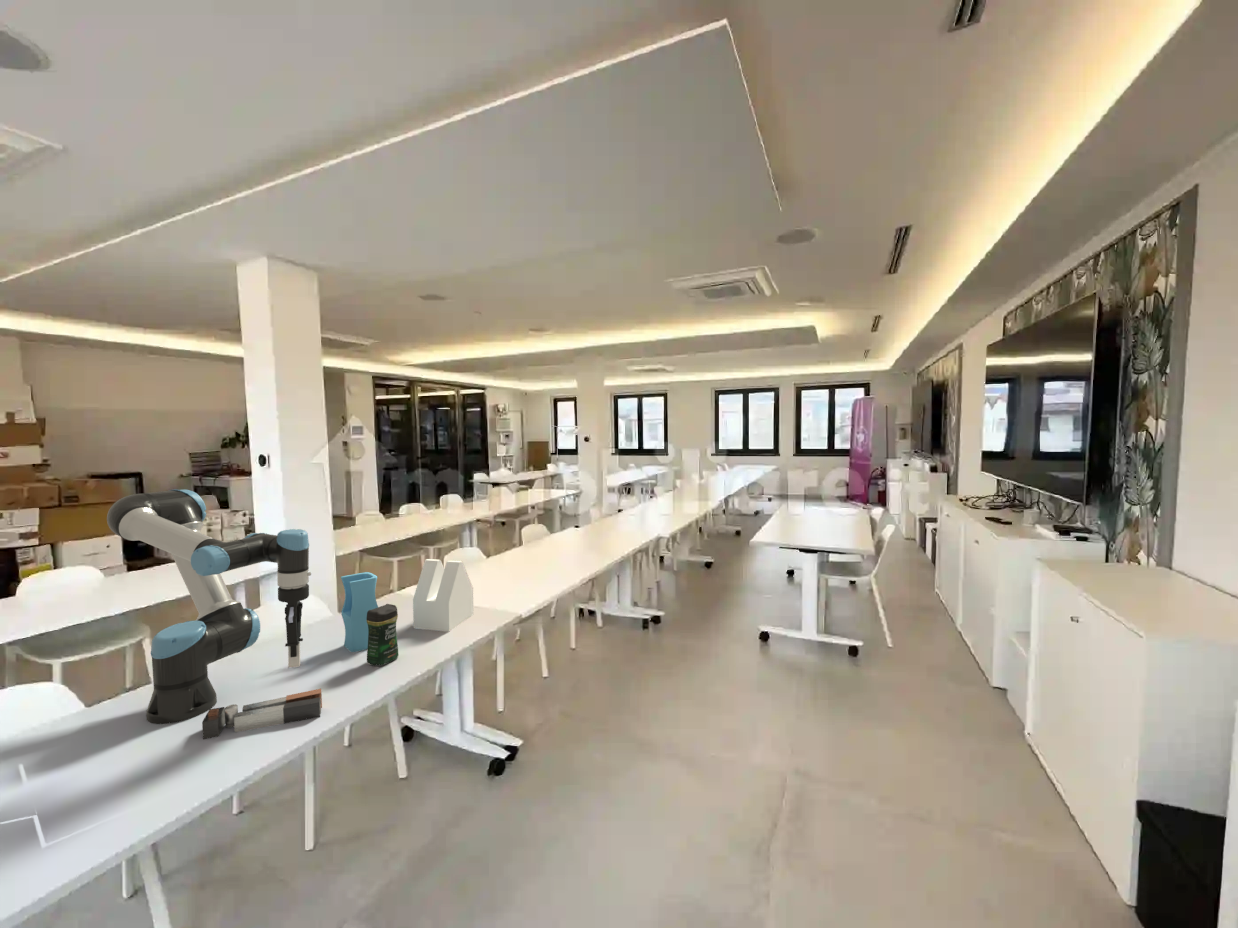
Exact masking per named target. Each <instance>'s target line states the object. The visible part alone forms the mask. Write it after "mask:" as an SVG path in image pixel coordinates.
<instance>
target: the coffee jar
mask: <svg viewBox="0 0 1238 928" xmlns="http://www.w3.org/2000/svg"><path fill="white" fill-rule="evenodd" d="M398 617H399V614H398V607H397V605H395V604H392V603H391V604H390V603H386V604H383V605H381V606H378V608H375V609H372V610H369V611H368V612H367V620H366V621H367V624H368V649H366V650H367V651H366V663H367V664H368V665H371V666H384V665H387V664H389V663H391V662H393V661H394V660H397V659H398V657H399V646H398V633H397V621H398Z"/></svg>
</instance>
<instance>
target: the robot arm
mask: <svg viewBox="0 0 1238 928" xmlns="http://www.w3.org/2000/svg"><path fill="white" fill-rule="evenodd" d="M206 511H207V506H206V504H205V501H204V499H202V497H201V496H200V495H199V494H198V493H197V492H195V491H193V490H189V489H169V490H163V491H154V492H144V493H134V494H130V495H126V496H124V497H122V498H120V499H118V500H116V501H115V502H114V503H113V504H112V505H111V506H110V508H109V509H108V512H107V516H106V522H107V526H108V528H109V529H110V530H111V532H113V533H114V534H115V535H117V536H118V537H120V538H122V539H124V540H127V541H132V542H135V541H140V542H143V543H145V544H148V545H150V546H152V547H155V548H157V549H159V550H161V551H164V552H166V553H169V554H170V555H171V556H172V559H173V560H174V562H175V565H176V567H177V569H178V571H179V574H180V576H181V577H182V580H183V582H184V585H185V586H186V589H187V591H188V593H189V595H190V598H191V600H192V601H193V604H194V606H195V608H196V610H197V612H198V615H197V618H196V619H195V620H187V621H184V622H178V623H175V624H172V625H169V626H168V627H166V628H163V629H162V630H160V631H159V632H157V633H156V634H155V635H154V636H153V638H152V639H151V648H150V649H151V650H150V656H151V667H152V679H153V681H152V682H153V690H152V691H153V692H152V694H151V697H150V700H149V703H148V706H147V708H146V711H145V712H146V713H145V714H146V721H147V723H151V724H153V725H166V724H167V725H168V724H176V723H179V722H183V721H188V720H190V719H193V718H196V717H198V716H201V715H203V714H204V713H208V711H209V710H210V709H213V707H214V708H215V706H216V704H217V701H218V699H217V698H218V697H217V696H218V695H217V693H216V690H215V689H214V686H213V684H212V682H211V680H210V678H209V676H208V675H209V674H208V673H209V672H208V665H209V664H211V663H214V662H217V661H220V660H222V659H224V658H227V657H229V656H231V655H234V654H237V653H238V654H239V653H241V652H242V651H244V650H246V649H247V648H250V647H251V646H253V645H254V644H255V643H256V642H257V640H258V639H259V636H260V633H261V621H260V617H259V616H258V613H257V612H256V611H254V610H253V609H252V608H248V607H247V608H244V607H243V604H242V603H241V601H238V600H235V599H233V598H232V595H231V593H230V592H229V589H228V588H227V585H226V583H225V581H224V579H223V577H222V575H221V574H222V573H225V572H230V571H233V570H237V569H240V568H244V567H248V566H252V565H256V564H261V563H265V562H269V563H274V564H277V575H276V576H277V579H276V581H277V586H278V587H277V600H278V601H279V602H282V603H286V605H285V607H284V614H285V617H284V620H285V628H286V629H285V631H286V643H285V645H284V647H287V650H288V657H287V658H288V660H287V661H288V662H287V663H288V665H287V666H288V668H290V669H291V668H297V667H300V666H301V642H303V640H304V638H303V637H302V638H301V636H302V630H301V629H302V615H303V611H302V610H303V602H302V601H304V600H306V599H308V598H309V596H310V585H309V581H310V580H309V579H310V578H309V576H312V573H311V571H310V572H309V568H310V567H309V565H310V564H309V563H310V559H309V558H310V557H309V554H310V553H309V552H310V550H309V548H310V541H309V535H308V534H309V533H308V532H307V531H306V530H305V529H301V528H299V529H296V528H293V529H291V528H290V529H285V530H284V529H283V530H281V531H279V532H278V533H277V534H269V533H265V532H253V533H252V532H251V533H249V534H248V535H246V536H245V537H243V538H241V539H236V540H235V539H234V540H230V541H222V540H220V539H217V538H214V537H211V536H210V535H206V534H204V533H202V532H201V530H202V528H203V527H204V526H205V525H204V521H205V520H206V517H207V512H206Z"/></svg>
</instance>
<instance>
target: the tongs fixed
mask: <svg viewBox="0 0 1238 928" xmlns="http://www.w3.org/2000/svg"><path fill="white" fill-rule="evenodd" d="M321 713H322V708H321V697H319V698H313V699H307V700H302V701H296V702H290V703H285V705H279V706H273V707H268V708H262V709H256V710H250V711H245V712H242V711H240V712H239V711H238V713H236V715H235V717H234V733H238V732H246V731H250V730H255V729H256V730H257V729H260V728H266V727H271V726H278V725H282V724H283V725H284V724H285V725H286V724H290V723H296V722H301V721H306V720H312V719H317V718H321ZM201 723H202V725H201V726H202V740H208V739H212V738H217V737H218V738H219V737H220V736H221V732H222V731H223V729H224V727H225V706H222V707H216V708H215V707H214V708H211V709H210V710H208V711H207V712H206V715H205V716H204V718H203V720H202V722H201Z"/></svg>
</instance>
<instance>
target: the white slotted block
mask: <svg viewBox="0 0 1238 928" xmlns="http://www.w3.org/2000/svg"><path fill="white" fill-rule="evenodd" d="M418 578H419V579H418V582H417V585H416V588H415V592H414V595H413V599H412V609H413V610H412V611H413V612H412V614H413V623H412V624H413V629H417V630H418V629H419V630H426V631H429V630H430V631H438V632H446V633H450V632H451V631H453V630H454V629H456V628H457V627H458V626H460V625H461V624H462V623H464V622H465V621H467V620H468V619H470V618H471V617H472V616H474V587H473V585H472V582H471V580H470V577H469V574H468V572H467V569H466V567H465V565H464V562H463V561H462V560H447V561H446V562H445V566H444V564H443V562H442V560H441V559H435V558H434V559H433V558H426V559H424V563H423V565H422V568H421V572H420V575H419V577H418ZM455 627H456V628H455Z"/></svg>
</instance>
